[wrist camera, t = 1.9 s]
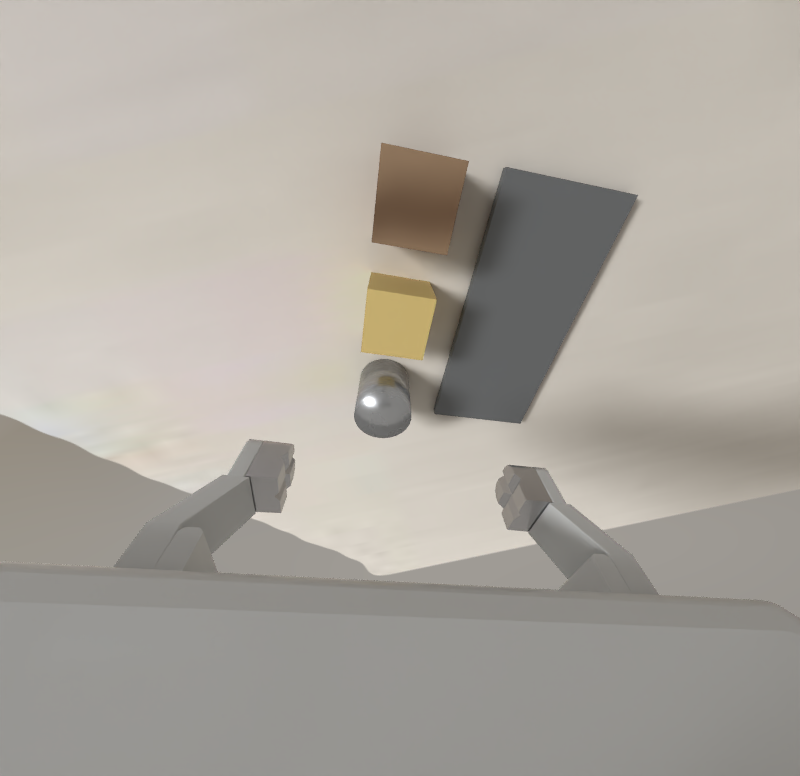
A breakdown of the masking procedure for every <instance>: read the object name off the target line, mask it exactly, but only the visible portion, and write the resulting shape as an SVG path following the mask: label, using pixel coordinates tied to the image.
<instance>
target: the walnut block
mask: <svg viewBox="0 0 800 776" xmlns="http://www.w3.org/2000/svg"><path fill="white" fill-rule="evenodd" d="M468 163H469V161H466V160H461V159H456V158H451V157H447V156H442V155H437V154H432V153H428V152H423V151H418V150H413V149H409V148H404V147H399V146H394V145H390V144H385V143H381V152H380V162H379V173H378V183H377V193H376V204H375V214H374V224H373V234H372V242H374V243H379V244H385V245H391V246H397V247H402V248H408V249H414V250H420V251H425V252H431V253H437V254H443V255H447V253H448V249H449V245H450V240H451V236H452V232H453V227H454V223H455V219H456V214H457V210H458V206H459V201H460V197H461V193H462V189H463V184H464V180H465V176H466V171H467V167H468Z"/></svg>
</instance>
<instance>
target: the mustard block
mask: <svg viewBox="0 0 800 776" xmlns="http://www.w3.org/2000/svg"><path fill="white" fill-rule="evenodd" d="M436 302H437V299H436V296H435V294H434V292H433V289H432V287H431V284H430V282H427V281H421V280H415V279H409V278H403V277H397V276H391V275H385V274H379V273H373V272H371V276H370V280H369V285H368V289H367V299H366V308H365V318H364V328H363V338H362V347H361V352H365V353H372V354H380V355H387V356H394V357H402V358H409V359H417V360H423V356H424V352H425V348H426V344H427V340H428V335H429V331H430V327H431V323H432V318H433V314H434V310H435V306H436Z"/></svg>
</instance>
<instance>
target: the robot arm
mask: <svg viewBox="0 0 800 776" xmlns="http://www.w3.org/2000/svg"><path fill="white" fill-rule="evenodd" d="M293 454H294V445H293V444H288V443H280V442H272V441H262V440H254V439H250V440H249V441H247V442H246V444H245V446H244V447H243V449H242V451H241V453H240V454H239V456H238V458H237V459H236V461H235V463H234V464H233V466H232V468H231V470H230V471H229V473H228V475H222V476H220V477H218V478H217V479H215V480H214V481H212V482H210V483H209V484H207V485H206V486H204V487H202V488H201V489H199V490H198V491H196V492H194V493H193V494H191V495H190V496H188V497H186V498H185V499H183V500H182V501H180V502H179V503H177V504H175V505H174V506H172V507H171V508H169V509H167V510H166V511H164V512H163V513H161V514H159V515H158V516H156V517H155V518H153V519H151V520H150V521H148V522H147V523H146V524H145V525H144V527H143V528H142V529H141V531H140V532H139V533H138V535H137V536H136V537H135V539H134V540H133V541H132V543H131V544H130V545H129V547H128V548H127V549H126V551H125V552H124V553H123V555H122V556H121V557H120V559H119V560H118V561H117V563H116V564H115V565H114V567H100V566H80V565H79V566H78V565H61V564H42V563H23V562H22V563H21V562H2V561H0V776H800V618H799V617H797V616H795V615H794V614H792V613H791V612H789V611H787V610H786V609H784V608H783V607H781V606H779V605H777V604H775V603H772V602H768V601H763V600H749V599H729V598H710V597H709V598H708V597H690V596H670V595H659V594H658V592H657V591H656V589H655V588H654V586H653V585H652V583H651V582H650V580H649V579H648V577H647V576H646V574H645V573H644V571H643V570H642V568H641V567H640V565H639V564H638V562H637V561H636V559H635V558H634V556H633V555H632V554H631V553H629V552H628V551H627V550H626V549H624V548H623V547H622V546H621V545H620V544H618V543H617V542H616V541H615V540H613V539H612V538H611V537H610V536H609V535H607V534H606V533H605V532H604V531H602V530H601V529H600V528H599V527H597V526H596V525H595V524H594V523H593V522H591V521H590V520H589V519H588V518H586V517H585V516H584V515H583V514H581V513H580V512H579V511H578V510H577V509H575V508H574V507H573V506H572V505H570V504H566V502H565V500H564V499H563V497H562V495H561V493H560V491H559V490H558V488H557V486H556V484H555V483H554V481H553V479H552V477H551V476H550V474H549V472H548V471H547V470H546V469H545V468H537V467H526V466H515V465H507V466H506V467H505V468H504V470H503V474H504V476H502V477H501V478H499V479H498V481H497V483H496V489H495V493H496V498H497V501H498V503H499V504H500V505H501V506H502V507H503V511H502V516H503V519H504V522H505V525H506V528H507V529H508V530H517V531H527V532H528V533H529V534H530V536H531V537H532V538H533V539H534V540H535V541H536V543H537V544H538V545H539V546H540V547H541V548H542V550H543V551H544V552H545V553H546V554H547V555H548V557H549V558H550V559H551V560H552V561H553V562H554V563H555V565H556V566H557V567H558V568H559V569H560V571H561V572H562V573H563V574H564V575H565V577H566V578H567V579H568V580H567V581H566V582H565V583H564V584H563V585H562V586H561V587H560V588H559V590H551V589H531V588H511V587H493V586H473V585H453V584H434V583H415V582H395V581H375V580H354V579H334V578H315V577H296V576H276V575H255V574H235V573H218V571H217V569H216V566H215V563H214V560H213V558H212V555H211V554H212V553H213V552H214V551H216V550H217V549H218V548H219V547H220V546H221V545H222V544H223V543H224V542H225V541H226V540H227V539H228V538H230V536H231V535H233V534H234V533H235V532H236V531H237V530H238V529H239V528H240V527H241V526H242V525H243V524H245V523H246V522H247V521H248V520H249V519H250V518H251V517H252V516H253V515H254V514H255V512H273V513H281V512H282V509H283V506H284V503H285V500H286V497H287V490H286V489H287V488H288V487H289V486H291V483H292V480H293V476H294V471H295V460H294V458H293Z"/></svg>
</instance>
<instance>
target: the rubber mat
mask: <svg viewBox="0 0 800 776" xmlns="http://www.w3.org/2000/svg"><path fill="white" fill-rule="evenodd" d="M637 196H638V195H635V194H630V193H625V192H621V191H616V190H611V189H607V188H602V187H597V186H593V185H588V184H583V183H579V182H574V181H569V180H565V179H560V178H555V177H551V176H546V175H541V174H537V173H532V172H527V171H523V170H518V169H513V168H509V167H506V168H503V172H502V175H501V179H500V182H499V185H498V189H497V192H496V196H495V199H494V203H493V206H492V210H491V213H490V217H489V220H488V224H487V227H486V230H485V234H484V237H483V241H482V244H481V248H480V251H479V255H478V258H477V262H476V265H475V269H474V272H473V275H472V279H471V282H470V286H469V289H468V293H467V296H466V300H465V303H464V307H463V310H462V314H461V317H460V320H459V324H458V327H457V331H456V334H455V338H454V341H453V345H452V348H451V352H450V355H449V359H448V362H447V365H446V369H445V372H444V376H443V379H442V383H441V386H440V390H439V393H438V397H437V400H436V404H435V407H434V413H435V414H441V415H450V416H458V417H467V418H476V419H485V420H493V421H502V422H511V423H519V424H520V423H521V421H522V419H523V417H524V415H525V413H526V411H527V410H528V408H529V406H530V404H531V402H532V400H533V398H534V396H535V394H536V392H537V390H538V388H539V386H540V384H541V382H542V380H543V378H544V377H545V375H546V373H547V371H548V369H549V367H550V365H551V363H552V361H553V359H554V357H555V355H556V353H557V351H558V349H559V347H560V346H561V344H562V342H563V340H564V338H565V336H566V334H567V332H568V330H569V328H570V326H571V324H572V322H573V320H574V318H575V316H576V315H577V313H578V311H579V309H580V307H581V305H582V303H583V301H584V299H585V297H586V295H587V293H588V291H589V289H590V287H591V285H592V284H593V282H594V280H595V278H596V276H597V274H598V272H599V270H600V268H601V266H602V264H603V262H604V260H605V258H606V256H607V254H608V252H609V251H610V249H611V247H612V245H613V243H614V241H615V239H616V237H617V235H618V233H619V231H620V229H621V227H622V225H623V223H624V221H625V220H626V218H627V216H628V214H629V212H630V210H631V208H632V206H633V204H634V202H635V200H636V198H637Z"/></svg>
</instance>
